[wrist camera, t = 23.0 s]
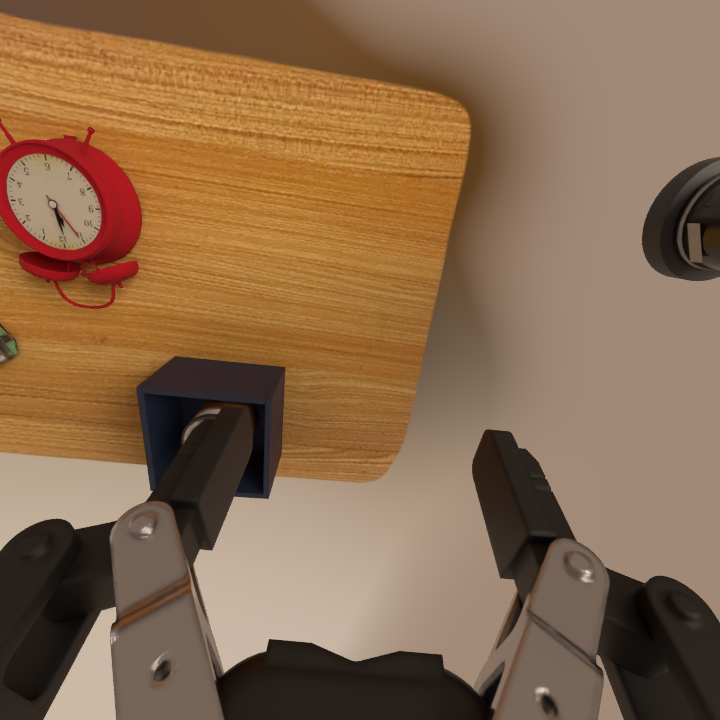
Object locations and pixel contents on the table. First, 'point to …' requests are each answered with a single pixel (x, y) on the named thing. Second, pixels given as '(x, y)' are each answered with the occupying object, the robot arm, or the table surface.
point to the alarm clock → (69, 210)
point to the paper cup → (212, 410)
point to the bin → (187, 395)
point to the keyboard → (7, 346)
